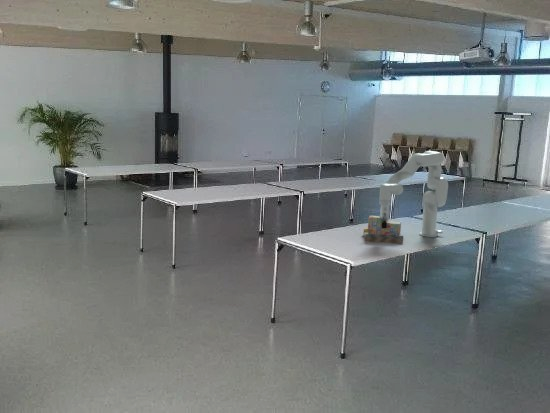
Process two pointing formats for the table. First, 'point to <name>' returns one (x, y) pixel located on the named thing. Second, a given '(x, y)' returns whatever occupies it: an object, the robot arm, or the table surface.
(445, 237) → the table surface
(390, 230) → the stack of blocks
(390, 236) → the dock
